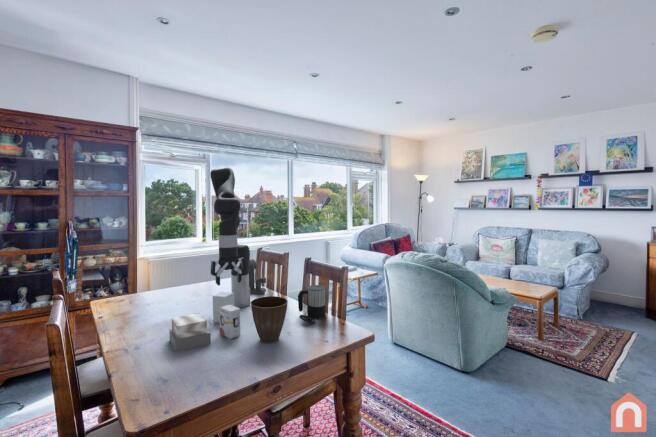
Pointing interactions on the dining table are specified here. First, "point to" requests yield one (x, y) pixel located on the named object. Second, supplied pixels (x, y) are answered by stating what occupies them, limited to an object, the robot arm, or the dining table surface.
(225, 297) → the supplement box
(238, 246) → the robot arm
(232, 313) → the ink box
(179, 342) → the tower base block
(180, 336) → the tower top block
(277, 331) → the plant pot
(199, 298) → the dining table surface
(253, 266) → the faucet
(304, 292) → the milk frother
